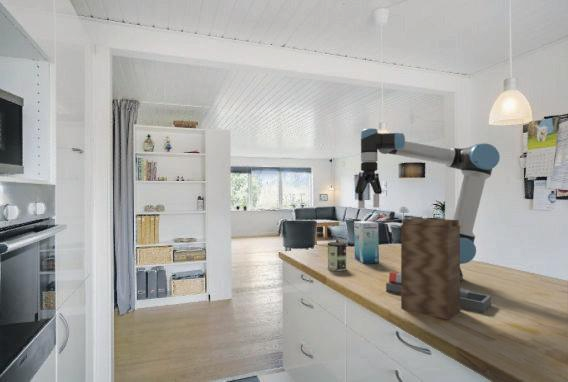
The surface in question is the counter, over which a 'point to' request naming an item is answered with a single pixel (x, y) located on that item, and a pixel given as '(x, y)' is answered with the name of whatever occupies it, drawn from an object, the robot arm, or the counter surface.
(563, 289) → the counter surface
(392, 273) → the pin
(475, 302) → the tray
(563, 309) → the counter surface
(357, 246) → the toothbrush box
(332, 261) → the coffee can
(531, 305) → the counter surface
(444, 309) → the post
